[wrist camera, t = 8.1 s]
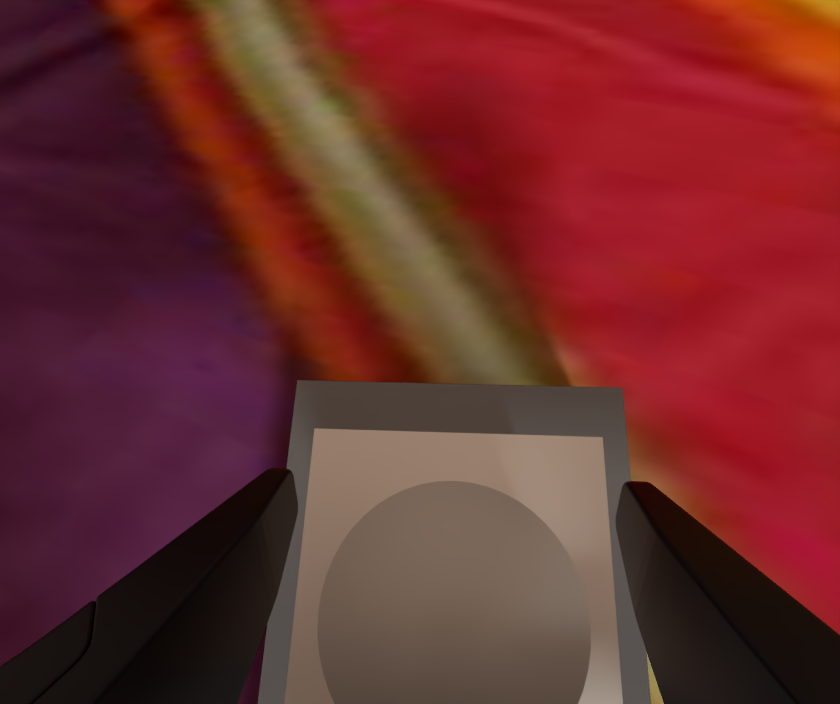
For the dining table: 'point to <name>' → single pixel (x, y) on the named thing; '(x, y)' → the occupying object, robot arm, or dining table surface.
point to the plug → (455, 572)
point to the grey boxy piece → (456, 414)
